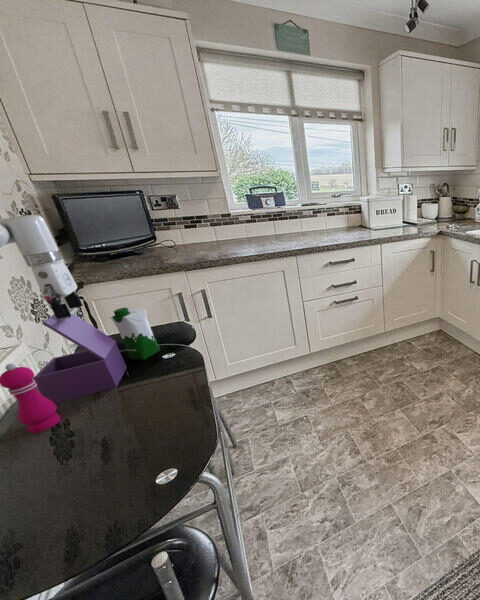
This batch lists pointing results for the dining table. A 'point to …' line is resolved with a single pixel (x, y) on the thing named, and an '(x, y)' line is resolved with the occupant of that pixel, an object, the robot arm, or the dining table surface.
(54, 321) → the lid
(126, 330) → the milk carton
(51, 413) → the pepper mill
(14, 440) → the dining table surface
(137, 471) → the dining table surface
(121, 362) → the box
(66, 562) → the dining table surface
